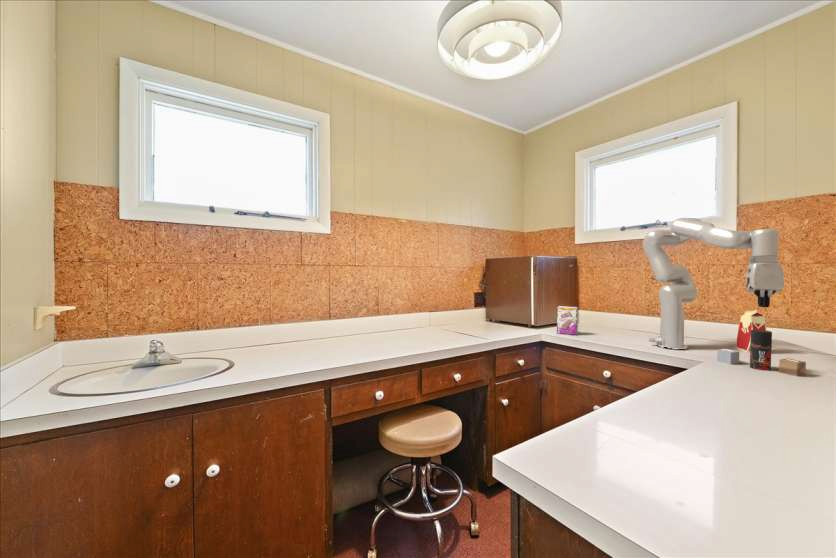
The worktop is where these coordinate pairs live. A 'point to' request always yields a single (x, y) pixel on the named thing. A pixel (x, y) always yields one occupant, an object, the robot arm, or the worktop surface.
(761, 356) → the deodorant
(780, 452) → the worktop surface
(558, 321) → the candy bar box
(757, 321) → the milk carton
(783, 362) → the walnut block
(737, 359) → the grey block
